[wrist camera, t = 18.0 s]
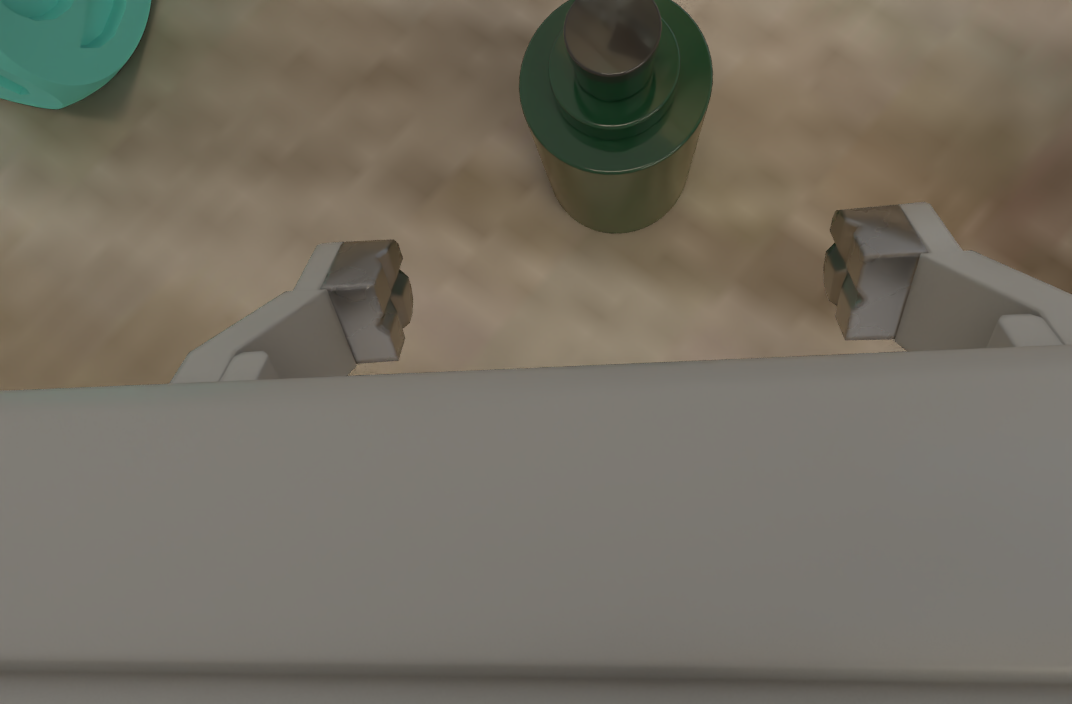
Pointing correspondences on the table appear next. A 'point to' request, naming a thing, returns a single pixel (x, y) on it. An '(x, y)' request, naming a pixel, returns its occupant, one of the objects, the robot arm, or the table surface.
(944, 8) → the table surface
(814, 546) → the robot arm
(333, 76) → the table surface
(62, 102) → the decorative dice
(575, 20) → the bottle
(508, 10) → the table surface
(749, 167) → the table surface
